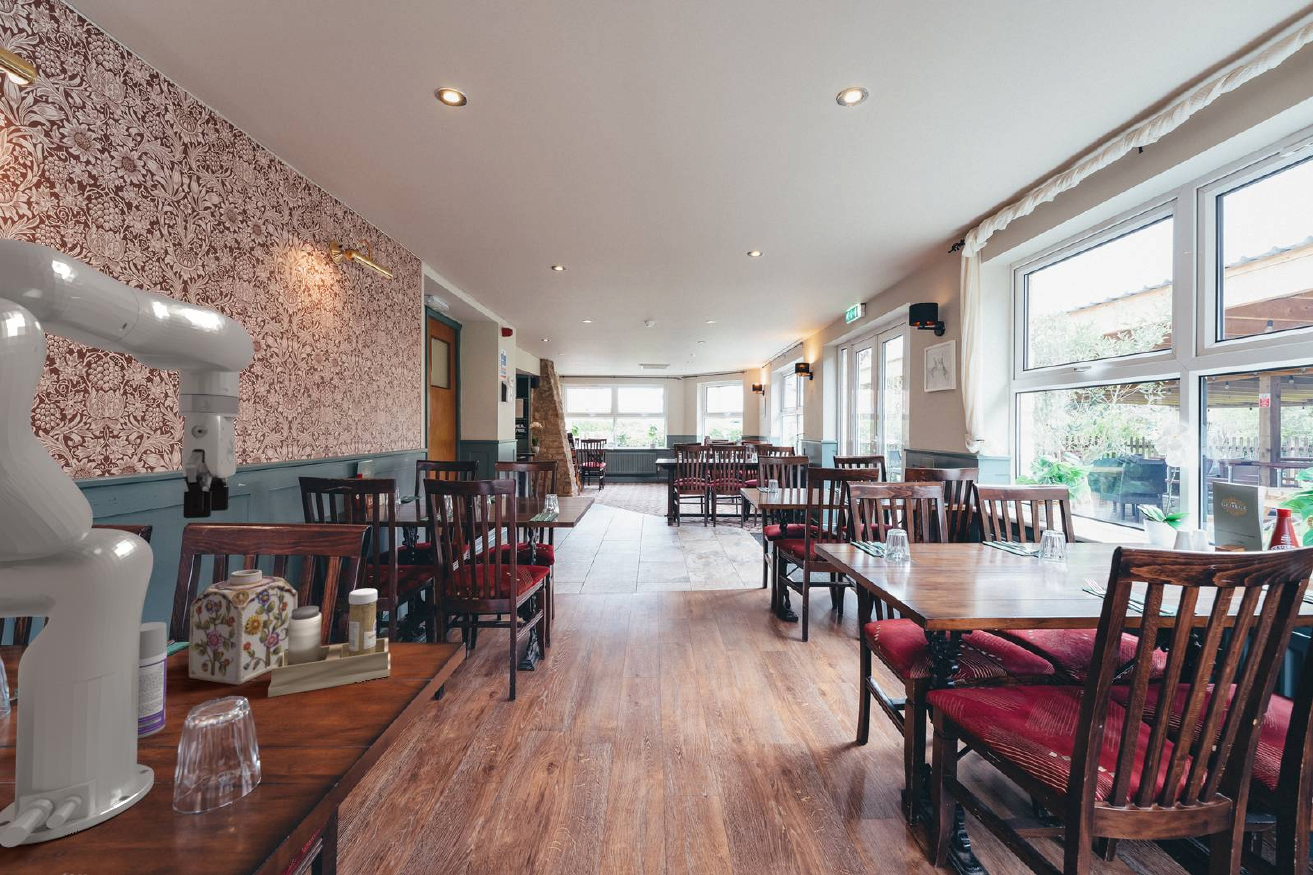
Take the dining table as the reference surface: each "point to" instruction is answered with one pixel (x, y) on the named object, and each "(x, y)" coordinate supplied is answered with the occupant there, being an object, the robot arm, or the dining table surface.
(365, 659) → the wooden caddy
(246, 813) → the dining table surface
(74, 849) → the dining table surface
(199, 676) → the decorative jar
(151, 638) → the container
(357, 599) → the sprinkles bottle
